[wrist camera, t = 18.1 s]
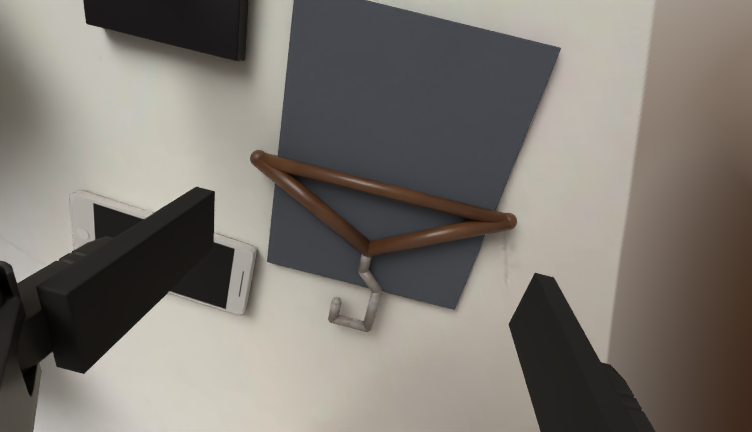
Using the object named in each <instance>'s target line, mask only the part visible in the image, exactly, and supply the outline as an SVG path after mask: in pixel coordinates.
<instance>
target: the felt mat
mask: <svg viewBox="0 0 752 432" xmlns="http://www.w3.org/2000/svg"><path fill="white" fill-rule="evenodd" d="M560 50H561V48H559V47H555V46H551V45H547V44H543V43H539V42H535V41H530V40H526V39H522V38H518V37H514V36H510V35H506V34H502V33H498V32H494V31H490V30H485V29H481V28H477V27H473V26H469V25H465V24H461V23H457V22H453V21H449V20H445V19H440V18H436V17H432V16H428V15H424V14H420V13H416V12H412V11H408V10H404V9H400V8H395V7H391V6H387V5H383V4H379V3H375V2H371V1H367V0H294V4H293V14H292V23H291V33H290V43H289V53H288V63H287V72H286V82H285V92H284V102H283V111H282V121H281V131H280V141H279V150H278V156H279V157H283V158H287V159H291V160H295V161H299V162H303V163H307V164H311V165H315V166H319V167H323V168H327V169H331V170H335V171H339V172H343V173H347V174H351V175H355V176H359V177H363V178H367V179H371V180H375V181H379V182H383V183H387V184H391V185H395V186H399V187H403V188H407V189H411V190H415V191H419V192H423V193H426V194H430V195H434V196H438V197H442V198H446V199H450V200H454V201H458V202H462V203H466V204H470V205H474V206H478V207H482V208H486V209H490V210H494V211H495V210H496V207H497V205H498V202H499V200H500V197H501V195H502V192H503V190H504V187H505V185H506V182H507V180H508V178H509V175H510V173H511V170H512V168H513V165H514V163H515V160H516V158H517V155H518V153H519V150H520V148H521V146H522V143H523V141H524V138H525V136H526V133H527V131H528V128H529V126H530V123H531V121H532V118H533V116H534V114H535V111H536V109H537V106H538V104H539V101H540V99H541V96H542V94H543V91H544V89H545V86H546V84H547V82H548V79H549V77H550V74H551V72H552V69H553V67H554V64H555V62H556V59H557V57H558V54H559V52H560ZM291 175H292V176H294V177H295V178H296V179H297V180H298V181H300V182H301V183H302V184H303V185H304V186H306V187H307V188H308V189H309V190H310V191H312V192H313V193H314V194H315V195H316V196H317V197H319V198H320V199H321V200H322V201H323V202H325V203H326V204H327V205H328V206H329V207H331V208H332V209H333V210H334V211H335V212H337V213H338V214H339V215H340V216H341V217H343V218H344V219H345V220H346V221H347V222H348V223H350V224H351V225H352V226H353V227H354V228H356V229H357V230H358V231H359V232H360V233H362V234H363V235H364V236H365V237H366V238H368V239H369V240H370V241H373V240H377V239H382V238H387V237H392V236H397V235H402V234H406V233H411V232H416V231H421V230H426V229H431V228H435V227H440V226H445V225H450V224H455V223H460V222H465V221H469V220H471V219H467V218H463V217H459V216H455V215H451V214H447V213H443V212H439V211H435V210H431V209H427V208H424V207H420V206H416V205H412V204H408V203H404V202H400V201H396V200H392V199H388V198H384V197H380V196H376V195H372V194H368V193H364V192H360V191H356V190H352V189H348V188H344V187H340V186H336V185H332V184H328V183H324V182H320V181H316V180H312V179H309V178H305V177H301V176H297V175H293V174H291ZM484 237H485V235H480V236H475V237H470V238H465V239H460V240H455V241H450V242H445V243H440V244H434V245H429V246H424V247H419V248H414V249H409V250H404V251H399V252H394V253H389V254H383V255H378V256H373V257H372V258H371V262H370V266H369V271H370V272H371V274H372V275H373V276H374V278H375V279H376V281H377V282H378V283H379V285H380V286H381V288H382V291H383V292H387V293H391V294H395V295H399V296H403V297H407V298H411V299H414V300H418V301H422V302H426V303H430V304H434V305H438V306H442V307H446V308H450V309H454V310H455V308H456V306H457V303H458V301H459V298H460V296H461V293H462V291H463V288H464V286H465V283H466V281H467V278H468V276H469V274H470V271H471V269H472V266H473V264H474V261H475V259H476V256H477V254H478V251H479V249H480V246H481V244H482V242H483V239H484ZM361 255H362V254H361V253H360V252H358V251H357V250H356V249H355V248H353V247H352V246H351V245H350V244H349V243H347V242H346V241H345V240H344V239H343V238H341V237H340V236H339V235H338V234H337V233H335V232H334V231H333V230H332V229H330V228H329V227H328V226H327V225H326V224H324V223H323V222H322V221H321V220H320V219H318V218H317V217H316V216H315V215H313V214H312V213H311V212H310V211H309V210H307V209H306V208H305V207H304V206H303V205H301V204H300V203H299V202H298V201H296V200H295V199H294V198H293V197H292V196H290V195H289V194H288V193H287V192H286V191H284V190H283V189H282V188H281V187H280V186H278V185H277V184H276V183H275V190H274V199H273V209H272V219H271V229H270V238H269V248H268V258H267V262H269V263H273V264H277V265H281V266H285V267H289V268H293V269H297V270H300V271H304V272H308V273H312V274H316V275H320V276H324V277H328V278H332V279H336V280H340V281H344V282H348V283H352V284H355V285H359V286H363V287H367V288H369V287H368V285H367V284H366V283H365V281H364V280H363V279H362V277H361V276H360V274H359V273H358V268H359V263H360V259H361Z"/></svg>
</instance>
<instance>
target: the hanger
mask: <svg viewBox="0 0 752 432" xmlns="http://www.w3.org/2000/svg"><path fill="white" fill-rule="evenodd" d="M250 160H251V163H252V164H253V165H254V166H255V167H256V168H258V169H259V170H260V171H261V172H263V173H264V174H265V175H266V176H267V177H269V178H270V179H271V180H272V181H273V182H275V183H276V184H277V185H278V186H280V187H281V188H282V189H283V190H284V191H286V192H287V193H288V194H289V195H290V196H292V197H293V198H294V199H295V200H296V201H298V202H299V203H300V204H301V205H303V206H304V207H305V208H306V209H307V210H309V211H310V212H311V213H312V214H313V215H315V216H316V217H317V218H318V219H320V220H321V221H322V222H323V223H324V224H326V225H327V226H328V227H329V228H330V229H332V230H333V231H334V232H335V233H337V234H338V235H339V236H340V237H341V238H343V239H344V240H345V241H346V242H347V243H349V244H350V245H351V246H352V247H353V248H355V249H356V250H357V251H358V252H360V253H361V254H362V255H361V259H360V263H359V268H358V273H359V274H360V276H361V277H362V279H363V280H364V281H365V283H366V284H367V285H368V287H369V288H370V289H371V291H372V293H371V297H370V300H369V304H368V308H367V312H366V315H365V319H364V321H361V320H357V319H353V318H349V317H345V316H341V315H339V311H340V307H341V299H340V298H338V297H335V298H333V300H332V303H331V308H330V313H329V317H328V320H329V322H330V323H333V324H337V325H341V326H345V327H349V328H353V329H356V330H360V331H364V332H369V331H371V329H372V326H373V322H374V319H375V315H376V312H377V308H378V305H379V301H380V297H381V294H382V288H381V286H380V285H379V283H378V282H377V281H376V279H375V278H374V276H373V275H372V274H371V272H370V271H369V266H370V262H371V258H372V257H373V256H378V255H383V254H389V253H394V252H399V251H404V250H409V249H414V248H419V247H424V246H429V245H434V244H440V243H445V242H450V241H455V240H460V239H465V238H470V237H475V236H480V235H485V234H491V233H496V232H501V231H506V230H511V229H513V228H514V227H515V226H516V224H517V218H516V217H515V215H513V214H512V213H502V212H498V211H494V210H490V209H486V208H482V207H478V206H474V205H470V204H466V203H462V202H458V201H454V200H450V199H446V198H442V197H438V196H434V195H430V194H426V193H423V192H419V191H415V190H411V189H407V188H403V187H399V186H395V185H391V184H387V183H383V182H379V181H375V180H371V179H367V178H363V177H359V176H355V175H351V174H347V173H343V172H339V171H335V170H331V169H327V168H323V167H319V166H315V165H311V164H307V163H303V162H299V161H295V160H291V159H287V158H283V157H279V156H275V155H272V154H268V153H265V152H264V151H262V150H256V151H254V152H253V153H252V154H251V156H250ZM291 174H293V175H297V176H301V177H305V178H309V179H312V180H316V181H320V182H324V183H328V184H332V185H336V186H340V187H344V188H348V189H352V190H356V191H360V192H364V193H368V194H372V195H376V196H380V197H384V198H388V199H392V200H396V201H400V202H404V203H408V204H412V205H416V206H420V207H424V208H427V209H431V210H435V211H439V212H443V213H447V214H451V215H455V216H459V217H463V218H467V219H471V220H469V221H465V222H460V223H455V224H450V225H445V226H440V227H435V228H431V229H426V230H421V231H416V232H411V233H406V234H402V235H397V236H392V237H387V238H382V239H377V240H373V241H370V240H369V239H368V238H366V237H365V236H364V235H363V234H362V233H360V232H359V231H358V230H357V229H356V228H354V227H353V226H352V225H351V224H350V223H348V222H347V221H346V220H345V219H344V218H343V217H341V216H340V215H339V214H338V213H337V212H335V211H334V210H333V209H332V208H331V207H329V206H328V205H327V204H326V203H325V202H323V201H322V200H321V199H320V198H319V197H317V196H316V195H315V194H314V193H313V192H312V191H310V190H309V189H308V188H307V187H306V186H304V185H303V184H302V183H301V182H300V181H298V180H297V179H296V178H295V177H294V176H292V175H291Z"/></svg>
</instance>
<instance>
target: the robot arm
mask: <svg viewBox="0 0 752 432" xmlns="http://www.w3.org/2000/svg"><path fill="white" fill-rule="evenodd" d="M214 202H215V191H211V190H207V189H203V188H199V187H195V188H193V189H192V190H190V191H189V192H187V193H185V194H184V195H182V196H180V197H179V198H177V199H176V200H174V201H172V202H171V203H169V204H168V205H166V206H164V207H163V208H161V209H160V210H158V211H156V212H155V213H153V214H152V215H150V216H148V217H147V218H145V219H143V220H142V221H140V222H139V223H137V224H135V225H134V226H132V227H131V228H129V229H127V230H126V231H124V232H123V233H121V234H119V235H118V236H116V237H114V238H112V237H108V236H106V237H103V238H99V239H96V240H93V241H90V242H87V243H86V244H84V245H82V246H80V247H79V248H77V249H75V250H74V251H72V253H68V254H67V255H65V256H63V257H62V258H60V259H59V261H55V262H53V263H51V264H50V265H48V266H46V267H45V268H43V269H41V270H39V271H38V272H36V273H34V274H33V275H31V276H29V277H27V278H26V279H24V280H22V281H21V282H19V283H17V282H16V279H15V275H14V272H13V268H12V266H11V265H10V264H8V263H6V262H4V261H0V432H33V429H34V422H35V415H36V408H37V400H38V393H39V386H40V379H41V372H42V370H41V366H40V361H42V360H43V359H44V358H45V357H46V356H48V355H49V354H50V353H51V352H52V351H53V355H54V358H55V362H56V366H57V367H60V368H63V369H67V370H71V371H75V372H79V373H82V374H84V373H85V372H86V371H87V370H89V369H90V368H91V367H92V366H93V365H94V364H95V363H96V362H97V361H98V360H99V359H100V358H101V357H102V356H103V355H104V354H105V353H106V352H107V351H108V350H109V349H110V348H111V347H112V346H113V345H114V344H115V343H116V342H118V341H119V340H120V339H121V338H122V337H123V336H124V335H125V334H126V333H127V332H128V331H129V330H130V329H131V328H132V327H133V326H134V325H135V324H136V323H137V322H138V321H139V320H140V319H141V318H142V317H143V316H144V315H145V314H147V313H148V312H149V311H150V310H151V309H152V308H153V307H154V306H155V305H156V304H157V303H158V302H159V301H160V300H161V299H162V298H163V297H164V296H165V295H166V294H167V293H168V292H169V291H170V290H171V289H172V288H173V287H174V286H176V285H177V284H178V283H179V282H180V281H181V280H182V279H183V278H184V277H185V276H186V275H187V274H188V273H189V272H190V271H191V270H192V269H193V268H194V267H195V266H196V265H197V264H198V263H199V262H200V261H201V260H202V259H203V258H205V257H206V256H207V255H208V254H209V253H210V252H211V251H212V250H213V249H214ZM509 327H510V331H511V334H512V337H513V341H514V344H515V347H516V351H517V354H518V357H519V361H520V364H521V367H522V371H523V374H524V378H525V381H526V384H527V388H528V391H529V394H530V398H531V401H532V404H533V408H534V411H535V414H536V418H537V421H538V424H539V428H540V431H541V432H655V430H654V428H653V427H652V425H651V423H650V422H649V420H648V418H647V417H646V415H645V413H644V412H643V411H641V407H640V405H639V403H638V401H637V400H636V398H634V395H633V393H632V391H631V390H630V388H629V386H628V385H627V383H626V381H625V380H624V379H623V378H622V377H621V375H619V374H618V372H617V371H616V370H615V369H614V368H613V367H612V366H611V365H609V364H606V363H602V362H600V360H599V358H598V356H597V355H596V353H595V351H594V349H593V347H592V346H591V344H590V342H589V340H588V338H587V337H586V335H585V333H584V331H583V329H582V328H581V326H580V324H579V322H578V320H577V318H576V317H575V315H574V313H573V311H572V309H571V308H570V306H569V304H568V302H567V300H566V299H565V297H564V295H563V293H562V291H561V289H560V288H559V286H558V284H557V282H556V280H555V279H554V278H553V277H550V276H546V275H542V274H538V273H535V274H534V276H533V278H532V280H531V282H530V284H529V285H528V287H527V289H526V291H525V293H524V295H523V297H522V299H521V301H520V303H519V305H518V307H517V309H516V311H515V313H514V315H513V317H512V319H511V321H510V323H509Z"/></svg>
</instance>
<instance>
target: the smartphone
mask: <svg viewBox="0 0 752 432" xmlns="http://www.w3.org/2000/svg"><path fill="white" fill-rule="evenodd" d="M69 199H70V211H71V222H72V233H73V245H74V250H75V249H77V248H79V247H80V246H82V245H84V244H86V243H87V242H90V241H93V240H96V239H99V238H103V237H106V236H108V237H112V238H114V237H116V236H118V235H119V234H121V233H123V232H124V231H126V230H127V229H129V228H131V227H132V226H134V225H135V224H137V223H139V222H140V221H142V220H143V219H145V218H147V217H148V216H150V215H152V214H153V213H151V212H148V211H145V210H141V209H138V208H135V207H132V206H129V205H126V204H123V203H120V202H117V201H114V200H111V199H108V198H105V197H101V196H98V195H95V194H92V193H89V192H86V191H82V190H79V191H76V192H74V193H72V194H70V195H69ZM256 254H257V249H256V248H255V247H254V246H252V245H249V244H246V243H243V242H240V241H237V240H234V239H231V238H228V237H225V236H221V235H218V234H215V233H214V249H213V250H212V251H211V252H210V253H209V254H208V255H207V256H206V257H205V258H203V259H202V260H201V261H200V262H199V263H198V264H197V265H196V266H195V267H194V268H193V269H192V270H191V271H190V272H189V273H188V274H187V275H186V276H185V277H184V278H183V279H182V280H181V281H180V282H179V283H178V284H177V285H176V286H174V287H173V288H172V289H171V290H170V291H169V292H168V293H171V294H174V295H177V296H180V297H183V298H186V299H189V300H192V301H195V302H199V303H202V304H205V305H208V306H211V307H214V308H217V309H220V310H224V311H227V312H230V313H233V314H236V315H242V314H243V313H244V311H245V310H246V308H247V303H248V298H249V292H250V287H251V281H252V276H253V270H254V265H255V259H256Z"/></svg>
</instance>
